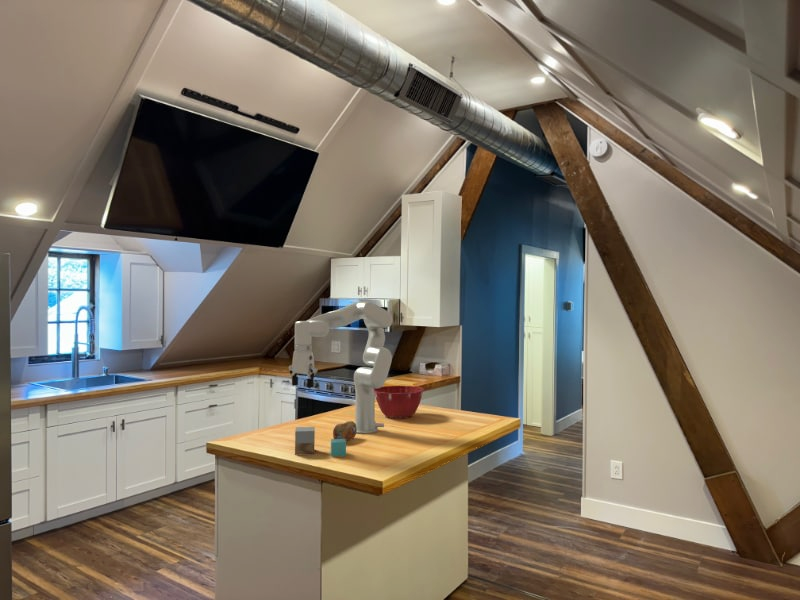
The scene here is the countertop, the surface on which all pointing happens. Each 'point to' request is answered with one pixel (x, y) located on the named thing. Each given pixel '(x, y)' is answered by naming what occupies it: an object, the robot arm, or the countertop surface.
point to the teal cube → (338, 447)
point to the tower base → (304, 448)
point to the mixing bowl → (398, 400)
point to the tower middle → (305, 435)
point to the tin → (345, 431)
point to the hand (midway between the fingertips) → (302, 386)
